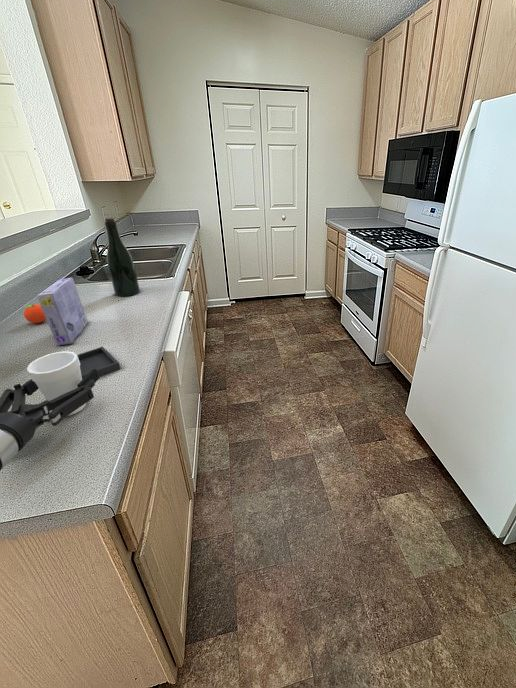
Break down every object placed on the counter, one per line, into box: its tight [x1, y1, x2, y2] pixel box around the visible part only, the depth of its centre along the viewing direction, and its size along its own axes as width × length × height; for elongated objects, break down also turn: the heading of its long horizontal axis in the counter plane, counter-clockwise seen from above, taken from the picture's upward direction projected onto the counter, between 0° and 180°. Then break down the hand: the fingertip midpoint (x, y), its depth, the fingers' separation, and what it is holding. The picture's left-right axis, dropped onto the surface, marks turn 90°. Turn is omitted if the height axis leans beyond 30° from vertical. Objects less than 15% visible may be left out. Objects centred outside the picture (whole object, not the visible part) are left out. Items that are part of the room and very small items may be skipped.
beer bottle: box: [104, 217, 141, 297], centre depth 145 cm, size 10×10×33 cm
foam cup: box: [26, 350, 87, 417], centre depth 77 cm, size 10×9×13 cm
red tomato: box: [20, 304, 47, 324], centre depth 123 cm, size 8×7×7 cm
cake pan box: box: [36, 277, 89, 346], centre depth 112 cm, size 19×5×18 cm, turn 14°
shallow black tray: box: [76, 346, 121, 380], centre depth 95 cm, size 14×14×2 cm
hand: (71, 373), depth 80 cm, fingers open, 11 cm apart
